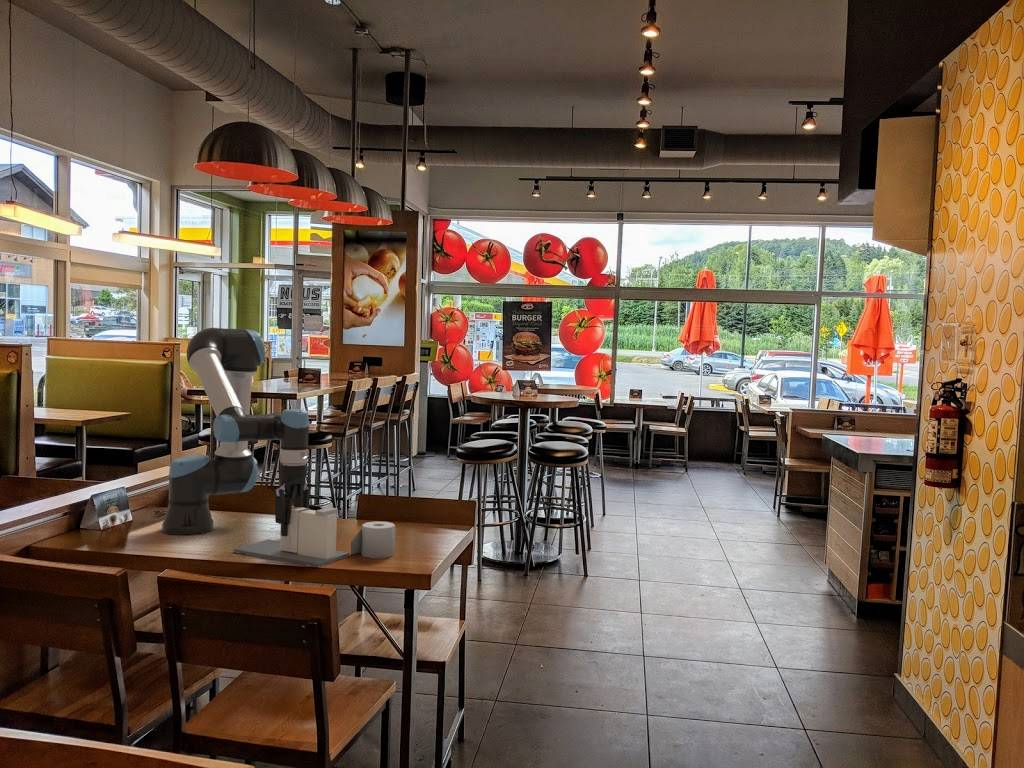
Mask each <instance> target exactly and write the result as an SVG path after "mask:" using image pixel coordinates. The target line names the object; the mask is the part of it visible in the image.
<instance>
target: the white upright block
mask: <svg viewBox="0 0 1024 768" xmlns="http://www.w3.org/2000/svg"><path fill="white" fill-rule="evenodd" d="M303 509H307V508H301V507H294V505H292V509H291V515H290V522H289V524H291V547H290V548H287V547H281V545H282V536H281V529H280V534H279V536H280V538H279V539H280V540H279V541H280V550H283V551H288V552H294V553H298V536H299V510H303Z"/></svg>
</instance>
